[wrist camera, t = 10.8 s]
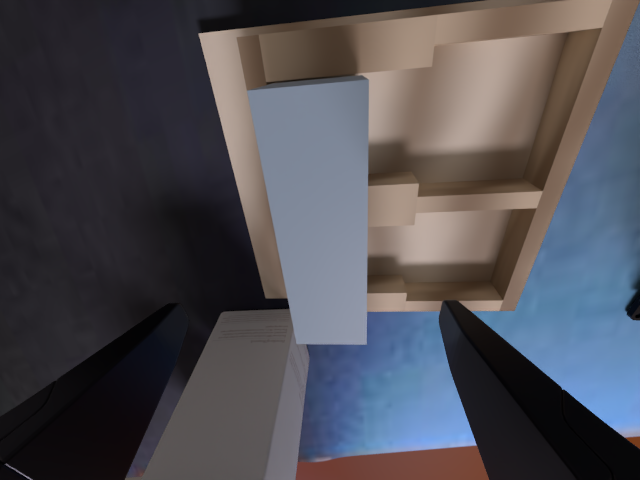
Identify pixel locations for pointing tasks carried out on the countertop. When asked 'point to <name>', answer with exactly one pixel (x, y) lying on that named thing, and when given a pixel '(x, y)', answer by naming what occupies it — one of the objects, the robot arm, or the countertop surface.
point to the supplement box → (239, 404)
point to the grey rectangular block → (318, 200)
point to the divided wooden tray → (437, 133)
